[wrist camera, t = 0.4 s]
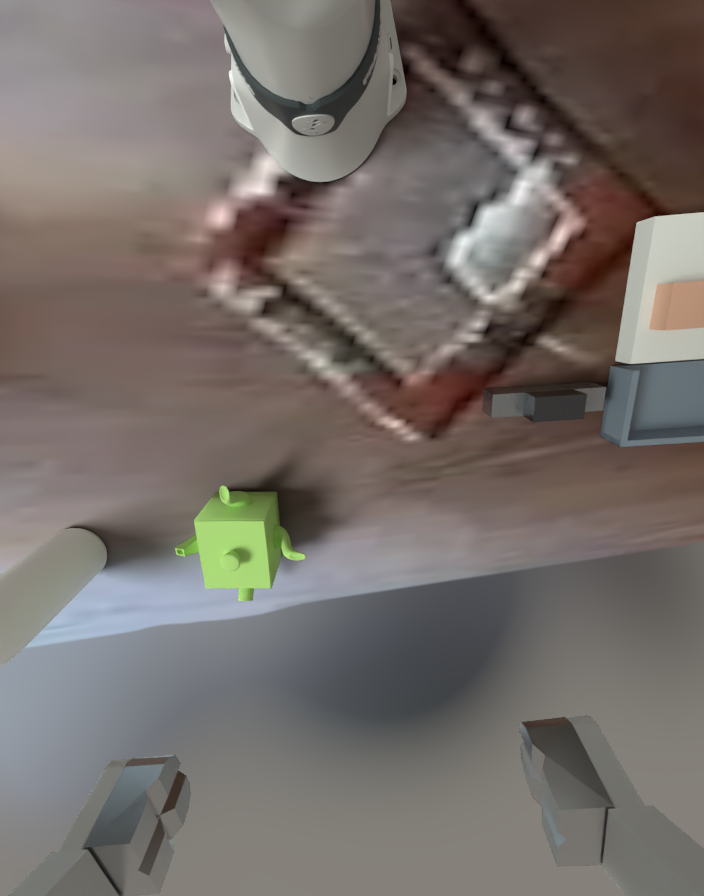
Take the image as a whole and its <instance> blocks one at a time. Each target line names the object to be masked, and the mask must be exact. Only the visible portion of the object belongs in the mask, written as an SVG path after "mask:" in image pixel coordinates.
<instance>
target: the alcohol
mask: <svg viewBox="0 0 704 896" xmlns="http://www.w3.org/2000/svg"><path fill="white" fill-rule="evenodd" d="M106 561H107V549H106V547H105V544H104V543H103V541H102V540H101V539H100V538H99V537H98V536H97V535H96V534H94V533H92V532H91V531H88V530H85V529H81V528H70V529H64V530H61V531H59V532H57V533H56V534H55V535H53V536H52V537H51V538H49V539H48V540H47V541H45V542H44V543H42V544H41V545H40V546H38V547H37V548H36V549H34V550H33V551H32V552H30V553H29V554H28V555H26V556H25V557H23V558H22V559H21V560H19V561H18V562H17V563H15V564H14V565H13V566H11V567H10V568H9V569H7V570H6V571H4V572H3V573H2V574H0V667H1V666H3V665H4V664H6V663H7V662H8V661H10V660H11V659H13V658H14V657H15V656H17V655H18V653H20V652H21V651H22V650H23V649H24V648H25V647H26V646H27V645H28V644H29V643H30V642H31V641H32V640H33V639H34V638H35V637H36V636H37V635H38V634H39V633H40V632H41V631H42V629H43V628H44V627H45V626H46V625H47V624H48V623H49V622H50V621H51V620H52V619H53V618H54V617H55V616H56V615H57V614H58V613H59V612H60V611H61V610H62V609H63V608H64V607H65V606H66V605H67V604H68V603H69V602H70V601H71V600H72V599H73V598H74V597H75V596H76V595H77V594H78V593H79V592H80V591H81V590H82V589H83V588H84V587H85V586H86V585H87V584H88V583H89V582H90V581H91V580H92V579H93V578H94V577H95V576H96V575H97V574H98V573H99V572H100V571H101V570H102V569H103V568H104V566H105V564H106Z"/></svg>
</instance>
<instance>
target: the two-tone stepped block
mask: <svg viewBox="0 0 704 896" xmlns="http://www.w3.org/2000/svg"><path fill="white" fill-rule="evenodd" d="M605 393H606V387H605V386H601V385H598V384H595V383H592V382H578V383H563V384H549V385H534V386H519V387H505V388H490V389H483V411H484V412H485V413H486V414H488V415H489V416H490V417H491V418H495V417H510V416H524V417H526V418H528V419H529V420H531V421H532V422H541V421H557V420H572V419H584V414H585V412H587V411H602V410H603V406H604V400H605Z"/></svg>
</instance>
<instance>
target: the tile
mask: <svg viewBox="0 0 704 896" xmlns="http://www.w3.org/2000/svg"><path fill="white" fill-rule="evenodd" d="M691 328H704V281H692V282H679V283H668V284H657V288H656V293H655V299H654V304H653V310H652V315H651V321H650V327H649V329H650V330H678V329H691Z"/></svg>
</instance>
